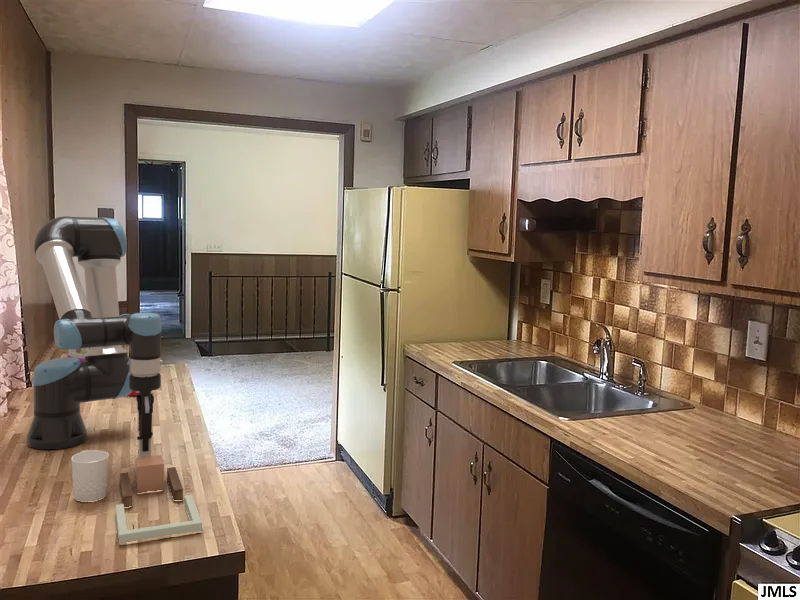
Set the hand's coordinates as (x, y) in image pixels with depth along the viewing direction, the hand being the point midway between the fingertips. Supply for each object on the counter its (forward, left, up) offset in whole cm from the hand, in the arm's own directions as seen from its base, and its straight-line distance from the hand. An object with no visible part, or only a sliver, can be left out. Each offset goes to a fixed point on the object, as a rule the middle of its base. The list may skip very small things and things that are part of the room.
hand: (144, 461), depth 171 cm
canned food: (+3, +72, -2) cm, 72 cm away
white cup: (-13, -14, -2) cm, 19 cm away
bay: (0, -32, -2) cm, 32 cm away
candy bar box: (-14, +109, -2) cm, 110 cm away
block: (0, -13, -2) cm, 13 cm away
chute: (0, -16, -2) cm, 16 cm away
